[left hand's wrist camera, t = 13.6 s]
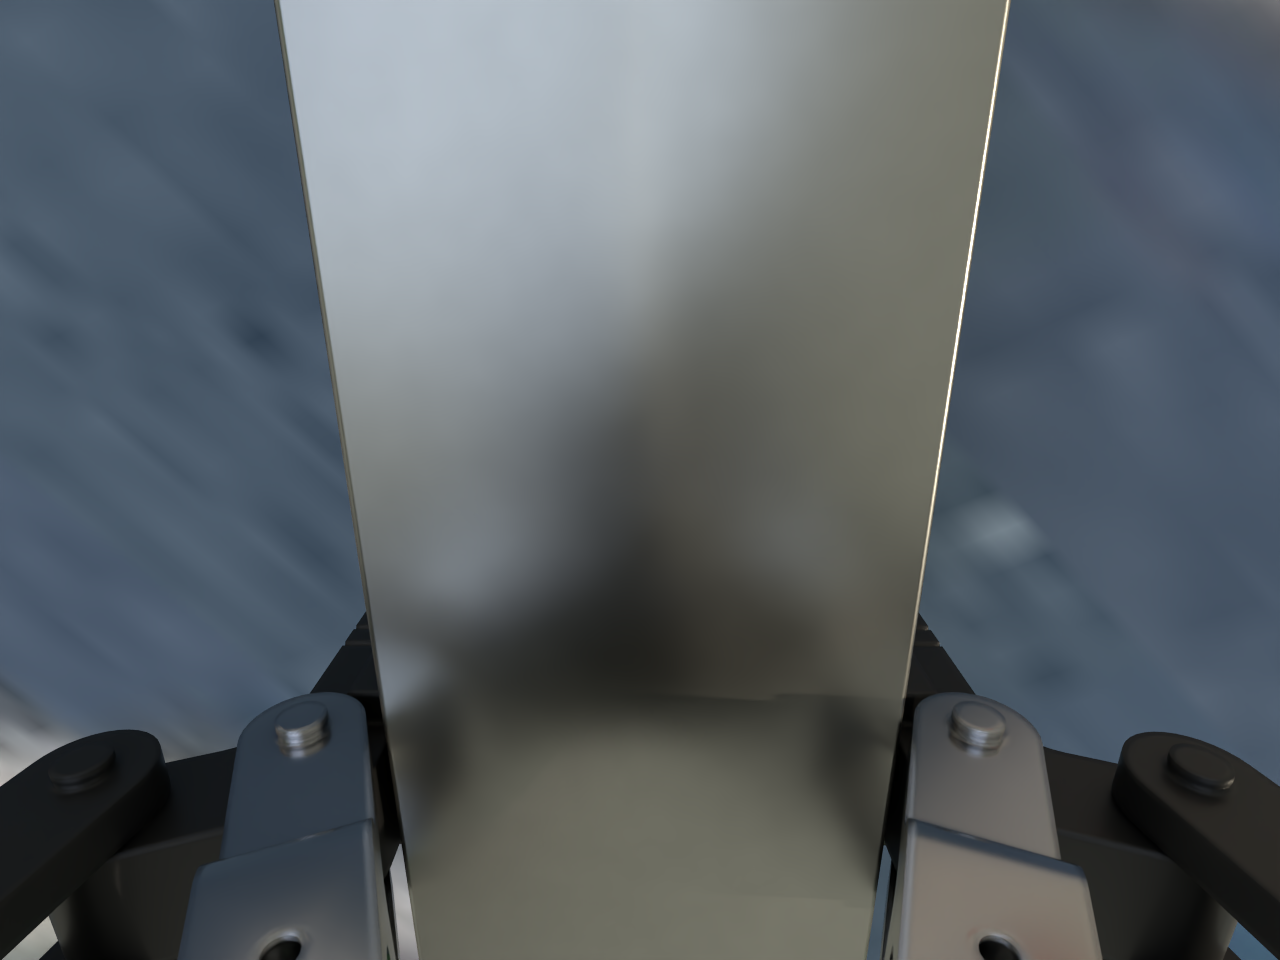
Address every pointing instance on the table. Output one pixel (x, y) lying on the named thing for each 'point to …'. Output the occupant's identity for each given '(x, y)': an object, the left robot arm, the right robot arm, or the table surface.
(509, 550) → the bar
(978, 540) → the table surface
